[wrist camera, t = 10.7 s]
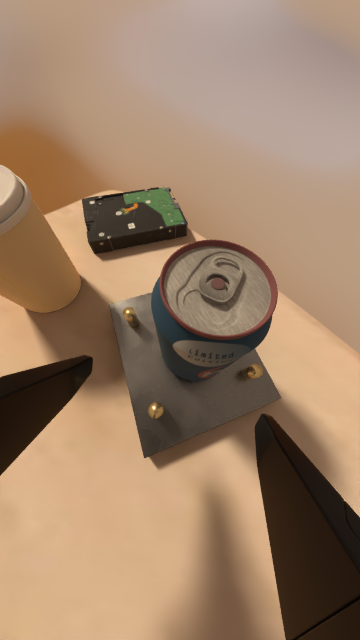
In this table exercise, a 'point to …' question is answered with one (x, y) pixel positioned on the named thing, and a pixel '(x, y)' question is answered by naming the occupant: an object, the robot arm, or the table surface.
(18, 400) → the robot arm
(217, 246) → the soda can
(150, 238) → the disk drive
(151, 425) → the chassis plate
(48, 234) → the coffee cup
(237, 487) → the table surface
